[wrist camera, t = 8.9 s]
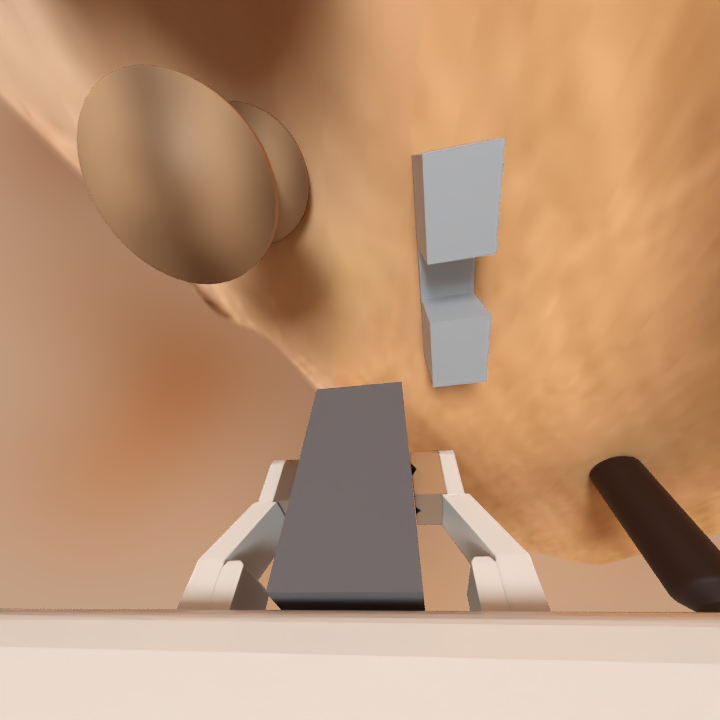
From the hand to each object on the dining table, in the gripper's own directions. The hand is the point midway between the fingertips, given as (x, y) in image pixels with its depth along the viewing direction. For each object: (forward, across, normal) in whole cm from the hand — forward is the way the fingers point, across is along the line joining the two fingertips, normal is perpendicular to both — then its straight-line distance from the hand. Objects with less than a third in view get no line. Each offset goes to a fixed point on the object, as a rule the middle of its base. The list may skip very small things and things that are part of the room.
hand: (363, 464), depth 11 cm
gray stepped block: (+22, -7, +1) cm, 23 cm away
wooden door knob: (+22, +9, -9) cm, 25 cm away
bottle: (+22, -31, +34) cm, 52 cm away
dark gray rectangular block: (+3, 0, 0) cm, 3 cm away
